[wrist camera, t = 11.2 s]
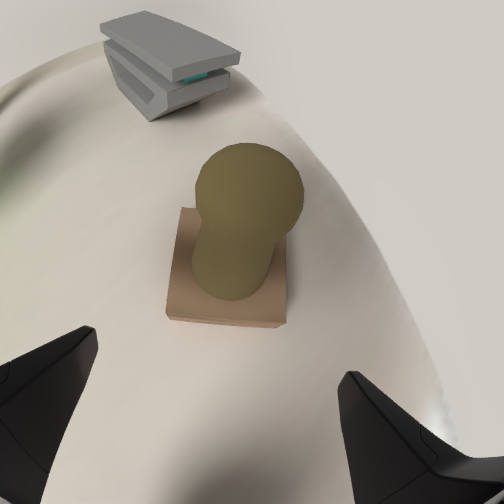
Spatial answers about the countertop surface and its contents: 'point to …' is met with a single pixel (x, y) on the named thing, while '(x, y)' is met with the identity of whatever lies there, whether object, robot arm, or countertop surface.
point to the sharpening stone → (165, 62)
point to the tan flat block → (216, 310)
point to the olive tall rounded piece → (243, 217)
